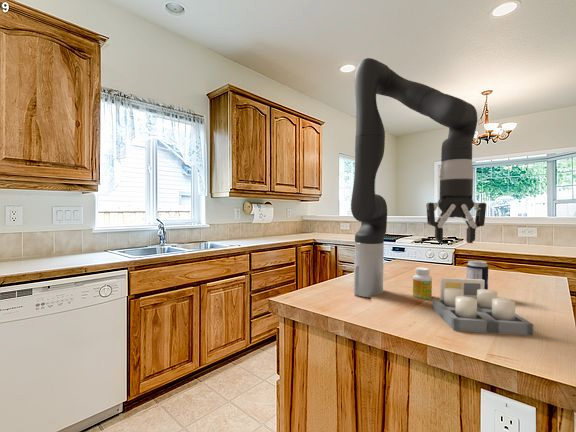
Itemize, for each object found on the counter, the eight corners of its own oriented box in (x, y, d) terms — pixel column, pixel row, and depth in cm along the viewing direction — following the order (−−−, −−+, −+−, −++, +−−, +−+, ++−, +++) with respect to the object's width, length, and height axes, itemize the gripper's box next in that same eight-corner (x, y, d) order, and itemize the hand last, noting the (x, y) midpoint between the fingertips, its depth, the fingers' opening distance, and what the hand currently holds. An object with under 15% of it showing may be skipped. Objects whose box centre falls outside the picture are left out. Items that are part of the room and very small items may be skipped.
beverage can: (490, 303, 92) (491, 263, 92) (470, 301, 94) (471, 262, 93) (482, 297, 98) (483, 260, 98) (463, 296, 99) (464, 259, 99)
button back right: (481, 309, 77) (481, 293, 77) (473, 303, 81) (474, 288, 81) (500, 310, 76) (500, 294, 76) (491, 304, 81) (492, 289, 81)
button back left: (447, 307, 78) (447, 291, 78) (441, 302, 83) (441, 287, 83) (465, 308, 78) (466, 292, 78) (459, 302, 82) (459, 288, 82)
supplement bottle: (423, 303, 92) (423, 271, 92) (408, 298, 97) (409, 267, 97) (435, 300, 95) (435, 269, 94) (420, 296, 99) (421, 266, 99)
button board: (453, 334, 69) (454, 295, 69) (430, 309, 87) (431, 277, 86) (532, 340, 66) (533, 299, 66) (492, 312, 84) (493, 279, 84)
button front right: (497, 320, 69) (497, 303, 69) (488, 313, 74) (488, 297, 73) (519, 321, 68) (519, 304, 68) (508, 315, 73) (508, 298, 73)
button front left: (459, 318, 70) (459, 301, 70) (452, 311, 75) (452, 295, 75) (480, 319, 70) (480, 302, 70) (471, 313, 74) (472, 296, 74)
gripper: (430, 177, 77) (429, 243, 77) (493, 176, 74) (491, 244, 75) (422, 180, 84) (421, 240, 85) (479, 179, 82) (478, 241, 82)
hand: (454, 242), depth 80 cm, fingers open, 6 cm apart
